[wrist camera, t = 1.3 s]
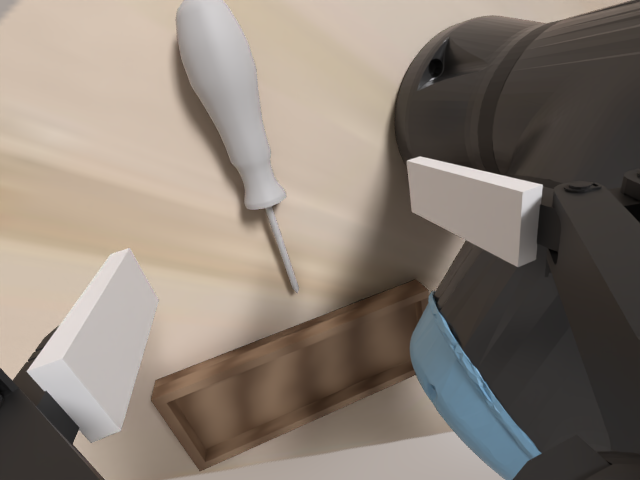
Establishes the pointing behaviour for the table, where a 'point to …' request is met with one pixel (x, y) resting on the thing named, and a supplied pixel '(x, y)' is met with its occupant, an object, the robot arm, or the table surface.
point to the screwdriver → (231, 100)
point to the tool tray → (291, 376)
